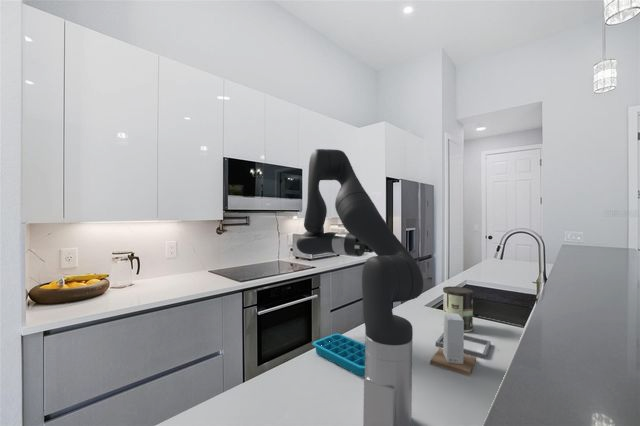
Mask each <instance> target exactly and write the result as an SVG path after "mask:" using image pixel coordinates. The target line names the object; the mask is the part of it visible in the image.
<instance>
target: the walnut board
mask: <svg viewBox="0 0 640 426" xmlns="http://www.w3.org/2000/svg"><path fill="white" fill-rule="evenodd" d="M476 362H477V357H475V356H471V355H468V354H464V353H463V364H457V363H448V362H447V360H446V358H445V356H444V353H443V348H441V347H438V349H437V351H436V352H435V353H434V355H433V356H432V358H431V359H430V360H429V365H430V366H431V365H433V366H435V367H438V368H441V369H445V370H449V371H451V372H455V373H458V374H461V375H464V376H468V377H470V376H471V373H473V370H474V367H475V364H476Z"/></svg>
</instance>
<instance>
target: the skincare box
mask: <svg viewBox="0 0 640 426" xmlns="http://www.w3.org/2000/svg"><path fill="white" fill-rule="evenodd" d="M443 333H444V340H443V343H444V344H443V348H442V349H443V353H444V356H445V358H446V360H447V362H448V363H457V364H463V354H464V353H463V350H464V349H465V348H464V344H465V343H464V341H465V340H464V335H465V332H464V320H463V319H462V318H461V317H460V315H459V314H452V313H444V326H443Z"/></svg>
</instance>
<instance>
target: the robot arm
mask: <svg viewBox="0 0 640 426" xmlns="http://www.w3.org/2000/svg"><path fill="white" fill-rule="evenodd" d="M349 159H350V158H349V157H348V156H347V154H346V153H345V152H344V151H343V150H340V149H334V148H333V149H332V148H331V149H328V148H318V149H317V148H316V149H314V150H313V151H312V152H311V154H310V156H309V162H308V177H307V178H308V179H307V199H306V200H307V202H306V208H305V209H306V210H305V215H304V220H303V228H304V229H305V230H306V231H305V232H304V233H303V234H301V235H300V236H299V237H298V238H297V240H296V248H297V250H299V252H300V253H302V254H305V255H317V254H323V253H331V254H338V255H342V256H352V257H362V256H364V254H365V253H371V254H372V253H375V255H374V256H370V257H368V258H367V259H366V260H365V262H364V264H363V266H362V273H361V289H362V290H361V292H362V315H363V322H364V327H365V330H364V331H365V337H364V338H365V340H364V342H365V376H364V379H363V421H362V422H363V426H412V422H413V421H412V418H413V417H412V416H413V415H412V413H413V412H412V407H413V406H412V403H413V401H412V400H413V397H412V396H413V392H412V391H413V339H414V338H413V334H414V333H413V331H414V330H413V325H412V323H411V321H409V320H407V319H406V318H404V317H403V316H400V315H397V314H394V313H393V304H392V303H397V302H398V303H400V302H407V301H412V300H415V299H418V298H419V297H420V296H421V295H422V293H423V290H424V278H423V277H424V276H423V274H422V271H421V269H420V267H419V265H418V263H417V261H416V260H415V258H414V257H413V255H412V254H411V253H410V252H409V250H408V249H407V248H406V247H405V246H404V244H402V242H401V241H400V239H398V237H397V236H396V235H395V233H393V231H392V230H391V228H390V227H389V225H388V224H387V222H386V221H385V219H384V218H383V216H382V215H381V213H380V211H379V210H378V208H377V206H376V205H375V203H374V202H373V200H372V199H371V197H370V195H369V194H368V193H367V191H366V190H365V188H364V187H363V185H362V183H361V181H360V180H359V179H358V177H357V175H356V173H355V170H354V168H353V166H352V164H351V161H350V160H349ZM321 181H337V182H338V183H339V185H340V189H339V190H338V192H337V195H336V198H335V201H334V202H335V203H334V207H335V208H334V209H335V211H336V213H337V215H338V217H339V220H340V222H341V224H342V225H343V227H344V228H345V230H346V231H347V232H345V231H343V232H331V231H329V232H325V229H324V228H325V227H324V226H325V223H326V218H327V212H328V209H327V208H328V207H327V205H326V201H325V199H324V197H323V196H322V194H321V191H320V183H321Z"/></svg>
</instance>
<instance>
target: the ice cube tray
mask: <svg viewBox="0 0 640 426" xmlns="http://www.w3.org/2000/svg"><path fill="white" fill-rule="evenodd" d="M329 341H330V342H329ZM311 345H312V346H314V347H315V353H316V354H317V355H320V356H321V357H323V358H325V359H327V360H328V361H330V362H333V363H334V364H336V365H338V366H340V367H342V368H344V369H346V370H348V371H350V372H352V373H353V374H354V375H357V376H360V377H365V344H364V343H362V342H359V341H357V340H355V339H353V338H351V337H349V336H346V335H343V334H341V333H333V334H331V335H327V336H326V337H323V338H320V339H318V340H315V341H313V342H312V344H311ZM321 345H322V346H321Z"/></svg>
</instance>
